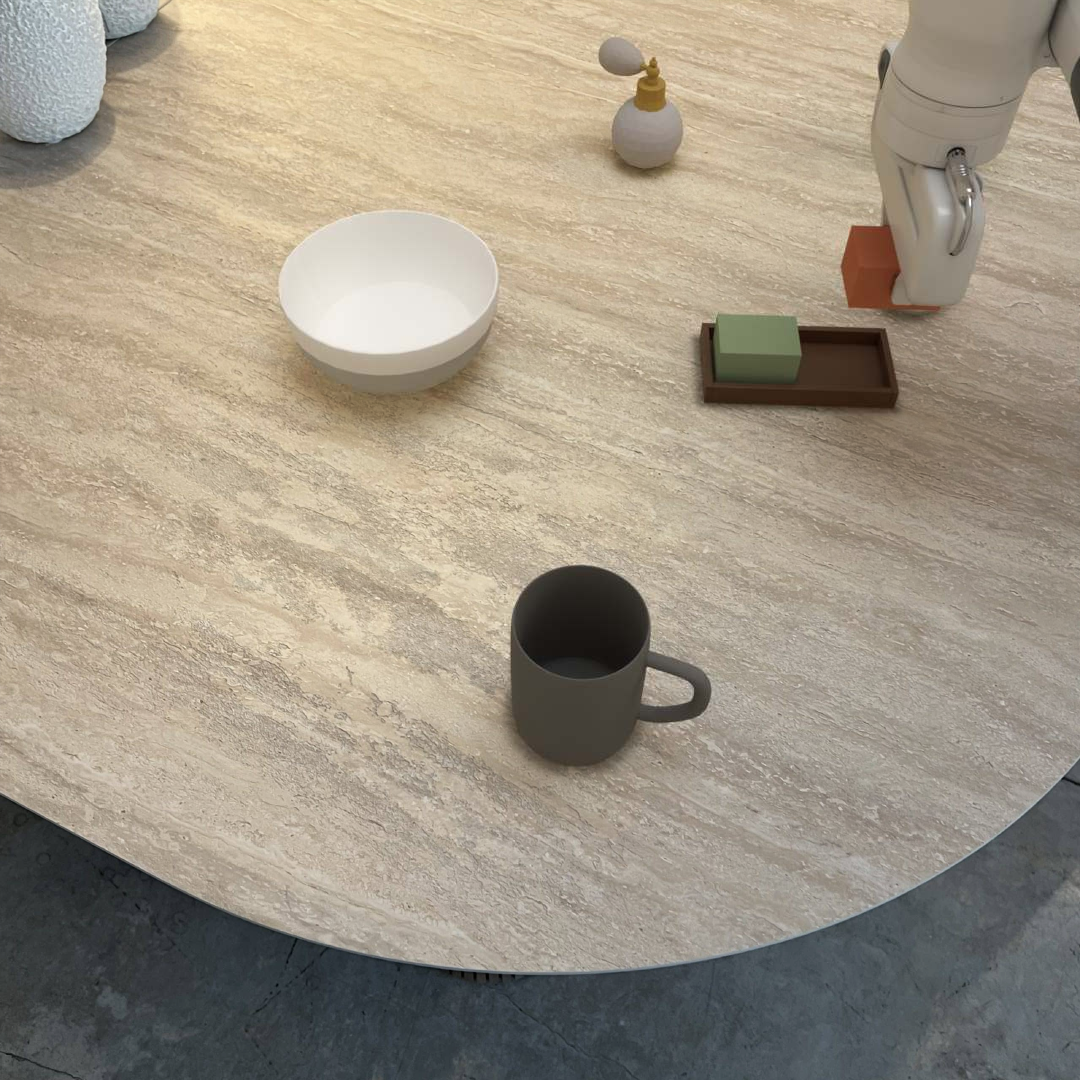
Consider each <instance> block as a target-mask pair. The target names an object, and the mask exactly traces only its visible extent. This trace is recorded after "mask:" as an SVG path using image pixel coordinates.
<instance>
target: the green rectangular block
mask: <svg viewBox="0 0 1080 1080" xmlns="http://www.w3.org/2000/svg"><path fill="white" fill-rule="evenodd" d="M715 318H716V319H715V323H716V324H715V330H714V336H713V342H712V358H713V371H714V382H718V383H750V384H782V385H794V384H795V380H796V376H797V372H798V368H799V364H800V360H801V357H802V353H801V346H800V339H799V332H798V326H799V325H798V319H797V316H795V315H772V314H771V315H770V314H769V315H768V314H739V313H738V314H736V313H734V314H733V313H717V314H716V317H715Z"/></svg>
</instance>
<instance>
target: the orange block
mask: <svg viewBox="0 0 1080 1080" xmlns="http://www.w3.org/2000/svg"><path fill="white" fill-rule="evenodd" d="M840 271H841V276H842V281H843V282H842V283H843V287H844V292H845V297H846V302H847V308H849V309H874V310H875V309H877V310H892V309H904V310H934V311H940V308H941V307H940V306H919V305H913V304H912V305H895V304H893V303H892V300H891V294H890V289H889V288H890V285H891V282H892V279H893V276H894V275H899V274H900V272H901V270H900V266H899V262H898V258H897V254H896V249H895V245H894V241H893V237H892V233H891V229H890V226H880V225H851V226H850V230H849V233H848V237H847V241H846V244H845V249H844V252H843V255H842V259H841V263H840Z"/></svg>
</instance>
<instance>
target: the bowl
mask: <svg viewBox="0 0 1080 1080" xmlns="http://www.w3.org/2000/svg"><path fill="white" fill-rule="evenodd" d="M499 273H500V272H499V267H498V264H497V262H496V258H495V256H494V254H493V252H492V251H491V250H490V248H489V247H488V246H487V244H486V242H485V241H484V240H482V239H481V238H480V237H479V236H478V235H477V234H476V233H475V232H474V231H472V230H471V229H469V228H468V227H465V226H464V225H462V224H460V223H458V222H457V221H454V220H452V219H449V218H447V217H444V216H442V215H437V214H434V213H429V212H424V211H418V210H408V209H380V210H374V211H367V212H360V213H357V214H354V215H350V216H347V217H343V218H340V219H337V220H335V221H334V222H331V223H329V224H326V225H324V226H321V227H320V228H319V229H317V230H316V231H314V232H312V233H310V234H309V235H307V236H306V237H305V238H304V239H303V240H302V241H301V242H300V243H298V244H297V245H296V246H295V247H294V249H293V250H292V251H291V252H290V253H289V255H288V256H287V258H286V259H285V261H284V263H283V265H282V268H281V270H280V272H279V275H278V281H277V289H276V292H277V296H278V301H279V302H278V303H279V306H280V309H281V312H282V316H283V318H284V321H285V324H286V326H287V328H288V330H289V332H290V335H291V337H292V338H293V339H294V341H295V343H296V345H297V346H298V348H299V349H300V351H301V353H302V354H303V356H304V357H305V358H306V359H307V360H308V361H309V362H310V364H312V365H313V367H315V368H316V369H318V370H319V371H320V372H322V373H324V374H325V375H326V376H327V377H329V378H331V379H333V380H334V381H336V382H338V383H339V384H341V385H342V386H343V385H344V386H346V387H348V388H350V389H352V390H355V391H357V392H363V393H367V394H372V395H379V396H381V395H382V396H401V395H409V394H414V393H419V392H423V391H425V390H429V389H431V388H435V387H437V386H438V385H441V384H443V383H444V382H447V381H449V380H450V379H451V378H452V377H454V376H456V375H457V374H458V373H459V372H461V370H463V369H464V368H465V367H466V366H467V365H468V364H469V363H470V362H471V361H472V360H473V359H474V358H475V356H477V354H478V353H479V352H480V351H481V350H482V348H483V347H484V345H485V343H486V341H487V339H488V338H489V335H490V331H491V328H492V325H493V321H494V320H495V317H496V312H497V308H498V303H499V290H500V289H499V288H500V274H499Z"/></svg>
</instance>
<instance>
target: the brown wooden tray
mask: <svg viewBox="0 0 1080 1080" xmlns="http://www.w3.org/2000/svg"><path fill="white" fill-rule="evenodd" d="M715 324H716V322H702V323H701V328H700V334H699V351H700V366H701V380H702V395H703V403H707V404H708V403H709V404H735V405H737V404H740V405H765V406H766V405H767V406H769V405H770V406H797V407H800V406H801V407H802V406H803V407H832V408H833V407H835V408H861V409H862V408H863V409H892V410H893V409H894V408H895V406H896V404H897V400H898V397H899V396H900V389H899V384H898V381H897V380H898V379H897V376H896V369H895V366H894V361H893V356H892V351H891V348H890V347H891V346H890V343H889V338H888V333H887V328H885V327H859V326H858V327H856V326H825V325H824V326H823V325H798V332H799V339H800V346H801V353H802V357H801V360H800V364H799V368H798V372H797V376H796V380H795V384H794V385H782V384H750V383H718V382H714V371H713V358H712V342H713V336H714V330H715Z"/></svg>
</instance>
